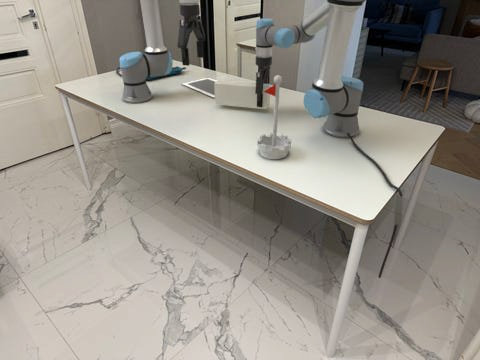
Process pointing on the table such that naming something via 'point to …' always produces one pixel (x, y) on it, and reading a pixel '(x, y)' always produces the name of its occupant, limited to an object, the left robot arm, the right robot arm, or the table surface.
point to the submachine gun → (173, 71)
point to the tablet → (203, 86)
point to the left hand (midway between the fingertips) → (193, 61)
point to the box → (239, 94)
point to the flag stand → (274, 131)
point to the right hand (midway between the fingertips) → (262, 104)
